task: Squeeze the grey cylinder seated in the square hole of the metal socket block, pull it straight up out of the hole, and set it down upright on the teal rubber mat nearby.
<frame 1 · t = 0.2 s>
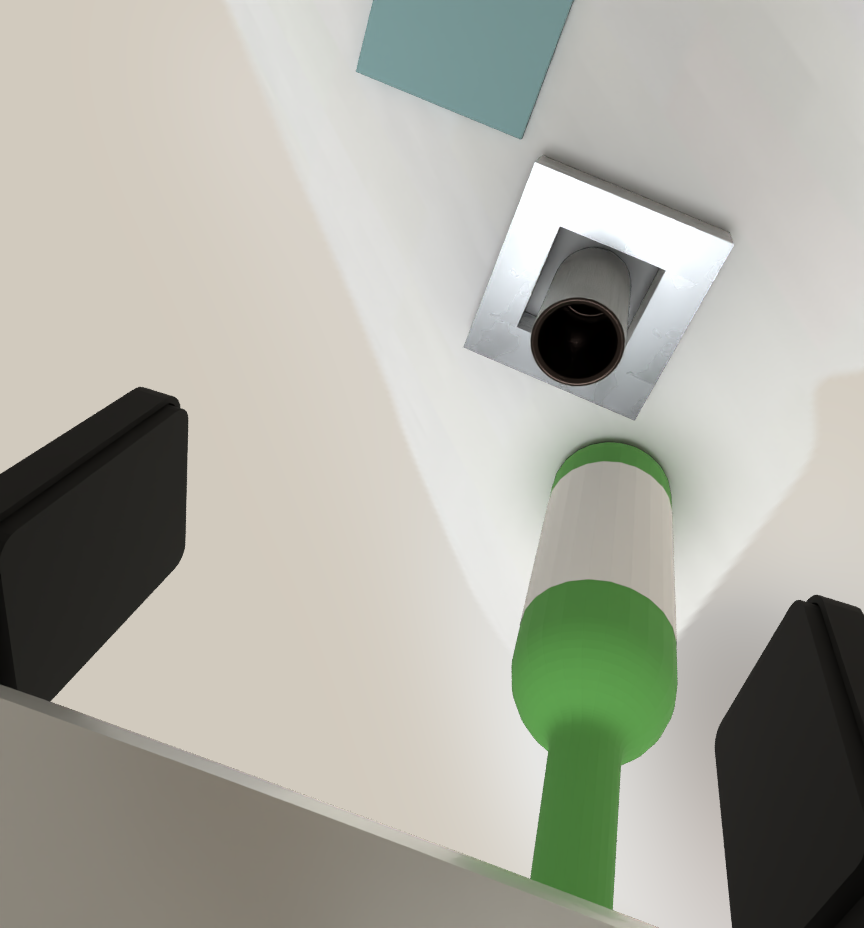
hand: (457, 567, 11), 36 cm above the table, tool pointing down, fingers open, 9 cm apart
grey cylinder: (592, 284, 44), resting in socket block
mat: (470, 5, 39), on the table
socket block: (591, 285, 44), on the table
wine bottle: (611, 484, 50), on the table
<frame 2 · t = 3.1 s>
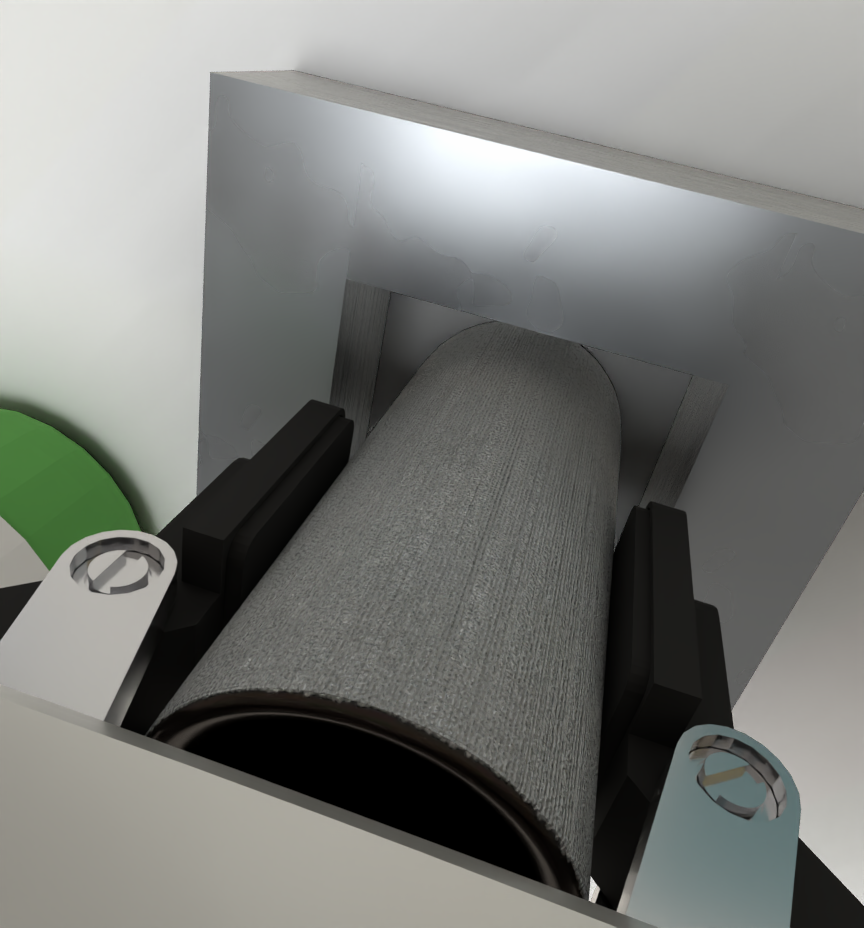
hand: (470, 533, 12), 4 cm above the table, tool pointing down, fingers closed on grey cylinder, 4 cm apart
grey cylinder: (514, 417, 16), resting in socket block, touching gripper
socket block: (512, 422, 16), on the table
wine bottle: (45, 513, 21), on the table
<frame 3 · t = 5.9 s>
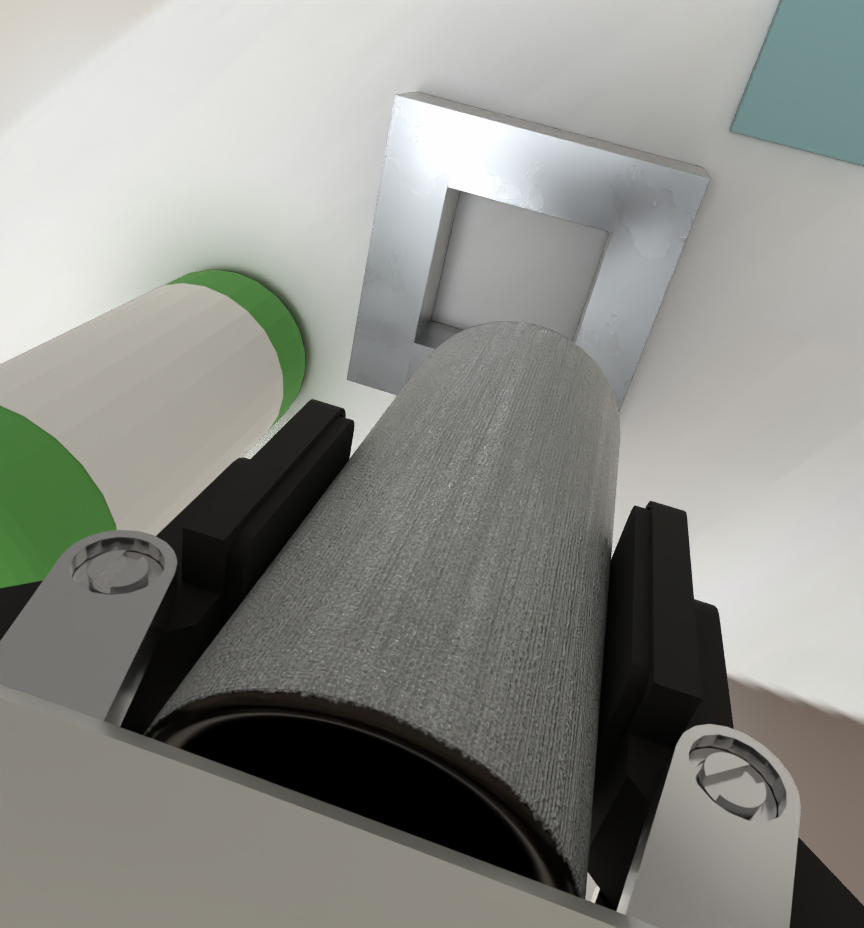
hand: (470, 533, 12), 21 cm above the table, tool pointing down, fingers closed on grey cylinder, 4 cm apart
grey cylinder: (512, 418, 16), point 16 cm above the table, touching gripper
socket block: (516, 272, 31), on the table
wine bottle: (240, 342, 36), on the table
when the fingers open (6 cm above the table, at t = 8.8 s): grey cylinder drops 1 cm, resting on mat.
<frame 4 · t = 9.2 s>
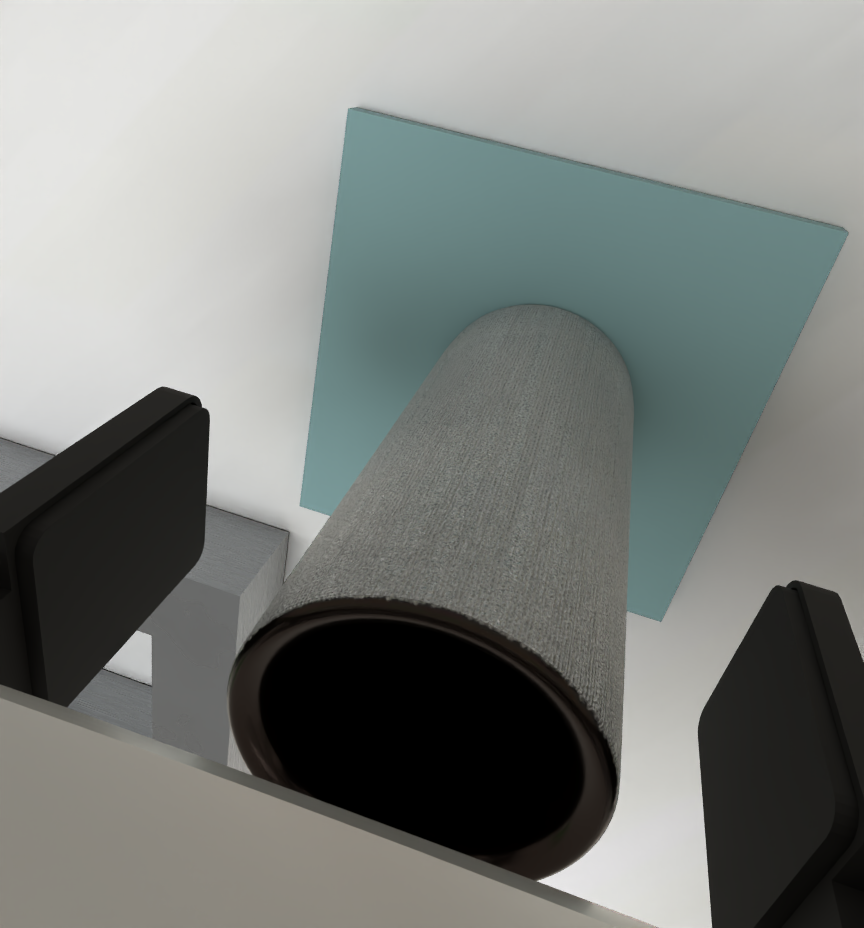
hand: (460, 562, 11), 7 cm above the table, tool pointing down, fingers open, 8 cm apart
grey cylinder: (533, 395, 17), resting on mat
mat: (525, 386, 17), on the table
socket block: (120, 613, 25), on the table
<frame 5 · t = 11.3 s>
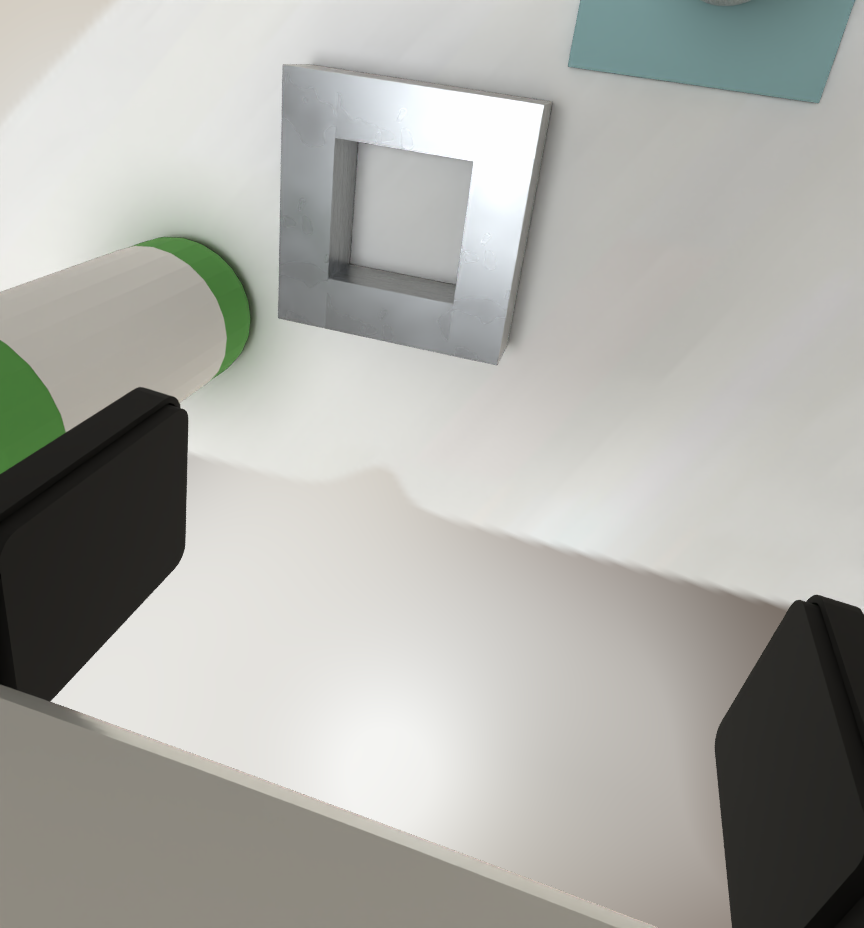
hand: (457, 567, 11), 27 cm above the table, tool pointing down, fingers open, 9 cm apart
socket block: (414, 212, 35), on the table
wine bottle: (196, 302, 41), on the table
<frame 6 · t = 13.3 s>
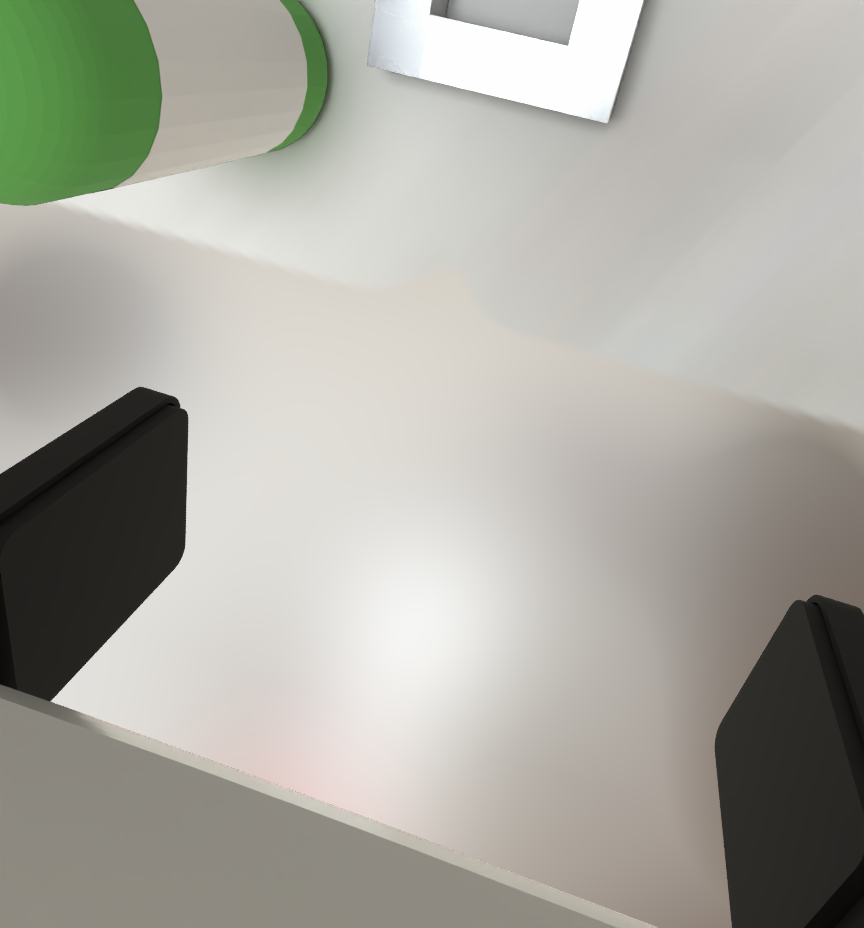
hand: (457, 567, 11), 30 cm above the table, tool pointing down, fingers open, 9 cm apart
wine bottle: (266, 67, 38), on the table
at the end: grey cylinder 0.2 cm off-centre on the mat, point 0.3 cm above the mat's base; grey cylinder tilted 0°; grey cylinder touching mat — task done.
